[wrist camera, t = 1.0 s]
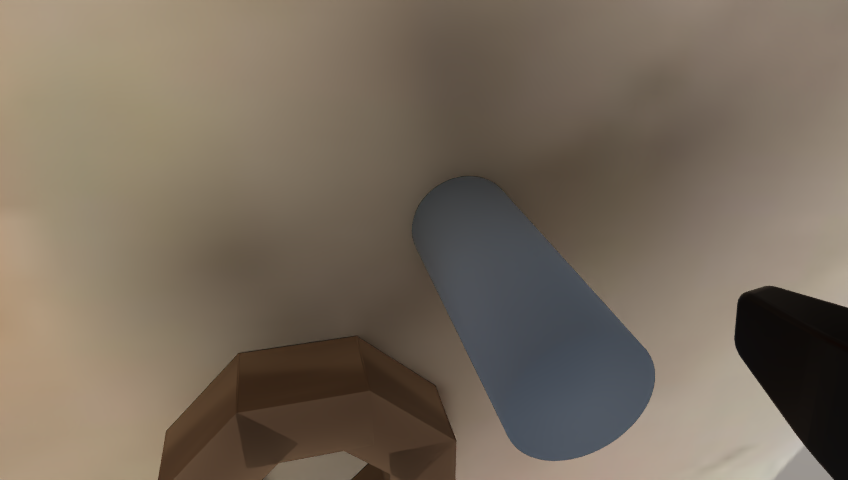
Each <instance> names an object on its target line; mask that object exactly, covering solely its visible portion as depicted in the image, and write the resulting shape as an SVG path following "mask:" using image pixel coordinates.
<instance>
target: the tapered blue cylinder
mask: <svg viewBox="0 0 848 480" xmlns="http://www.w3.org/2000/svg"><path fill="white" fill-rule="evenodd" d="M412 236H413V241H414V244H415V246H416V249H417V251H418V253H419V255H420V257H421V259H422V261H423V263H424V265H425V267H426V269H427V271H428V273H429V275H430V278H431V280H432V282H433V284H434V286H435V288H436V290H437V292H438V294H439V296H440V298H441V300H442V302H443V304H444V306H445V308H446V310H447V312H448V314H449V317H450V319H451V321H452V323H453V325H454V327H455V329H456V331H457V333H458V335H459V337H460V339H461V341H462V343H463V345H464V347H465V349H466V351H467V353H468V355H469V358H470V360H471V362H472V364H473V366H474V368H475V370H476V372H477V374H478V376H479V378H480V380H481V382H482V384H483V386H484V388H485V390H486V392H487V394H488V397H489V399H490V401H491V403H492V405H493V407H494V409H495V411H496V413H497V415H498V417H499V419H500V421H501V423H502V425H503V427H504V429H505V431H506V433H507V436H508V437H509V439H510V441H511V442H512V444H513V445H514V446H515V447H516V448H517V449H519V450H520V451H521V452H523V453H524V454H526V455H528V456H531V457H534V458H537V459H541V460H549V461H561V460H569V459H574V458H578V457H582V456H585V455H588V454H590V453H593V452H595V451H597V450H599V449H601V448H603V447H605V446H607V445H608V444H610V443H611V442H613V441H614V440H616V439H617V438H619V437H620V436H621V435H622V434H624V433H625V432H626V431H627V430H628V429H629V428H630V427H631V426H632V425H633V424H634V423H635V422H636V420H637V419H638V418H639V417H640V415H641V414H642V412H643V411H644V409H645V408H646V406H647V404H648V402H649V400H650V397H651V395H652V392H653V388H654V382H655V369H654V364H653V361H652V359H651V356H650V355H649V353H648V352H647V350H646V349H645V348H644V347H643V346H642V345H641V344H640V342H639V341H638V340H637V339H636V338H635V337H634V336H633V335H632V334H631V332H630V331H629V330H628V329H627V328H626V327H625V326H624V325H623V324H622V323H621V321H620V320H619V319H618V318H617V317H616V316H615V315H614V314H613V313H612V311H611V310H610V309H609V308H608V307H607V306H606V305H605V304H604V303H603V301H602V300H601V299H600V298H599V297H598V296H597V295H596V294H595V293H594V291H593V290H592V289H591V288H590V287H589V286H588V285H587V284H586V283H585V281H584V280H583V279H582V278H581V277H580V276H579V275H578V274H577V273H576V271H575V270H574V269H573V268H572V267H571V266H570V265H569V264H568V263H567V261H566V260H565V259H564V258H563V257H562V256H561V255H560V254H559V253H558V251H557V250H556V249H555V248H554V247H553V246H552V245H551V244H550V243H549V242H548V240H547V239H546V238H545V237H544V236H543V235H542V234H541V233H540V232H539V230H538V229H537V228H536V227H535V226H534V225H533V224H532V223H531V222H530V220H529V219H528V218H527V217H526V216H525V215H524V214H523V213H522V212H521V210H520V209H519V208H518V207H517V206H516V205H515V204H514V203H513V202H512V200H511V199H510V198H509V197H508V196H507V195H506V194H505V193H504V192H503V191H502V189H501V188H500V187H499V186H497V185H496V184H495V183H493V182H491V181H489V180H487V179H484V178H480V177H475V176H463V177H457V178H454V179H450V180H448V181H446V182H443V183H442V184H440V185H438V186H437V187H435V188H434V189H433V190H431V191H430V192H429V193H428V194H427V195H426V196H425V198H424V199H423V200H422V202H421V203H420V205H419V206H418V208H417V210H416V212H415V215H414V219H413V224H412Z"/></svg>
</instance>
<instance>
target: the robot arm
mask: <svg viewBox="0 0 848 480" xmlns="http://www.w3.org/2000/svg"><path fill="white" fill-rule="evenodd" d="M734 340H735V346H736V349H737V351H738V353H739V355H740V357H741V358H742V360H743V361H744V362H745V364H746V365H747V367H748V368H749V369H750V371H751V372H752V374H753V375H754V376H755V378H756V379H757V381H758V382H759V383H760V385H761V386H762V388H763V389H764V390H765V392H766V393H767V394H768V396H769V397H770V399H771V400H772V401H773V403H774V404H775V406H776V407H777V408H778V410H779V411H780V413H781V414H782V415H783V417H784V418H785V420H786V421H787V422H788V424H789V425H790V427H791V428H792V429H793V431H794V432H795V433H796V435H797V436H798V437H799V439H800V440H801V441H802V443H803V444H804V445H805V446H806V448H807V449H808V450H809V451H810V452H811V454H812V455H813V456H814V457H815V458H816V460H817V461H818V462H819V463H820V464H821V465H822V467H823V468H824V469H825V470H826V471H827V472H828V473H829V474H830V476H831V477H832V478H833V479H834V480H848V308H847V307H844V306H840V305H837V304H834V303H830V302H827V301H823V300H820V299H816V298H813V297H809V296H806V295H802V294H799V293H795V292H792V291H789V290H785V289H782V288H778V287H774V286H764V287H761V288H757V289H754V290H751V291H748V292H745V293H743V294H742V295H741V296H740V298H739V299H738V304H737V314H736V325H735V336H734Z"/></svg>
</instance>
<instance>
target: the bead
mask: <svg viewBox="0 0 848 480" xmlns="http://www.w3.org/2000/svg"><path fill="white" fill-rule="evenodd" d="M340 451H345V452H347V453H349V454H351V455H353V456H355V457H357V458H359V459H361V460H363V461H365V462H367V463H369V464H368V465H367V466H366V467H365V468H364V469H363V470H362V471H360V472H359V473H358V474H357V475H356V476H355V477H354V478H353V479H352V480H455V467H456V438H455V436H454V433H453V431H452V428H451V425H450V423H449V420H448V418H447V415H446V412H445V410H444V407H443V405H442V402H441V399H440V397H439V394H438V392H437V389H436V386H435V385H433V384H432V383H430V382H429V381H427V380H425V379H424V378H422V377H421V376H419V375H417V374H416V373H414V372H413V371H411V370H410V369H408V368H406V367H405V366H403V365H402V364H400V363H398V362H397V361H395V360H394V359H392V358H391V357H389V356H387V355H386V354H384V353H383V352H381V351H379V350H378V349H376V348H375V347H373V346H372V345H370V344H368V343H367V342H365V341H364V340H362V339H360V338H359V337H358V336H354V337H347V338H340V339H334V340H327V341H320V342H313V343H307V344H300V345H293V346H287V347H280V348H273V349H266V350H260V351H253V352H246V353H239V354H238V355H237V356H236V357H235V358H234V359H233V360H232V361H231V362H230V363H229V364H228V366H227V367H226V368H225V369H224V370H223V371H222V372H221V373H220V374H219V375H218V376H217V377H216V378H215V380H214V381H213V382H212V383H211V384H210V385H209V386H208V387H207V388H206V389H205V390H204V391H203V392H202V393H201V395H200V396H199V397H198V398H197V399H196V400H195V401H194V402H193V403H192V404H191V405H190V406H189V407H188V409H187V410H186V411H185V412H184V413H183V414H182V415H181V416H180V417H179V418H178V419H177V420H176V421H175V423H174V424H173V425H172V426H171V427H170V428H169V429H168V430H166V435H165V441H164V447H163V453H162V459H161V465H160V471H159V477H158V480H262V479H263V478H264V477H265V476H266V475H267V474H268V473H269V472H270V471H271V470H272V469H273V468H274V467H275V466H276V465H277V464H278V463H281V462H287V461H292V460H297V459H303V458H308V457H314V456H319V455H324V454H330V453H335V452H340Z"/></svg>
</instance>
